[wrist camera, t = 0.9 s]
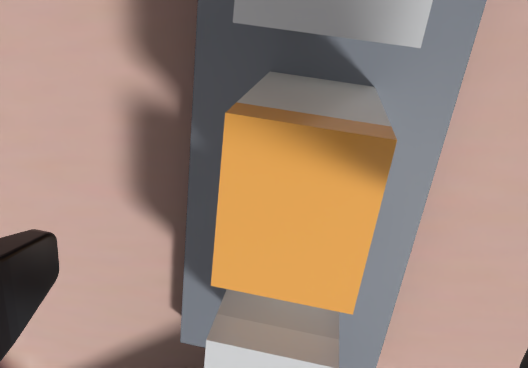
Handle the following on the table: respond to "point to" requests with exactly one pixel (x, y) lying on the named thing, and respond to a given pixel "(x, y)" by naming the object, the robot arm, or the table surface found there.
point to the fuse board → (342, 70)
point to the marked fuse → (301, 190)
